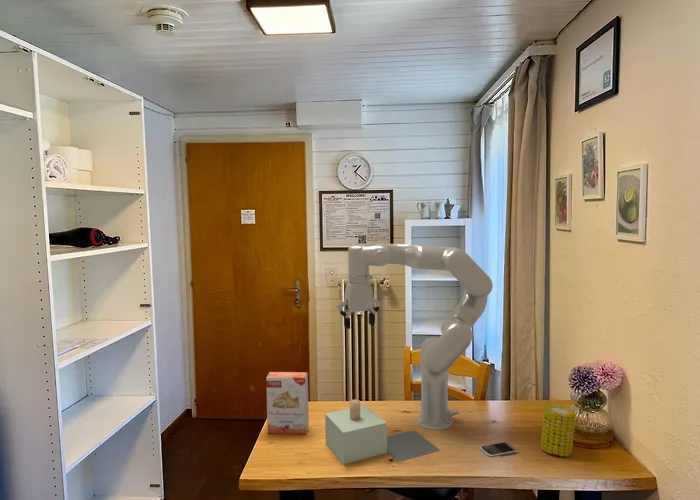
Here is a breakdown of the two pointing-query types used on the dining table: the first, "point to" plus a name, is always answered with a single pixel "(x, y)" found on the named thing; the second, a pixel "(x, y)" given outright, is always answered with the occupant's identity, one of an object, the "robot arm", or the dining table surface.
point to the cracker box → (287, 402)
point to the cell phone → (499, 449)
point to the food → (558, 430)
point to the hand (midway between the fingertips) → (359, 326)
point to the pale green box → (355, 433)
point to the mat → (408, 446)
